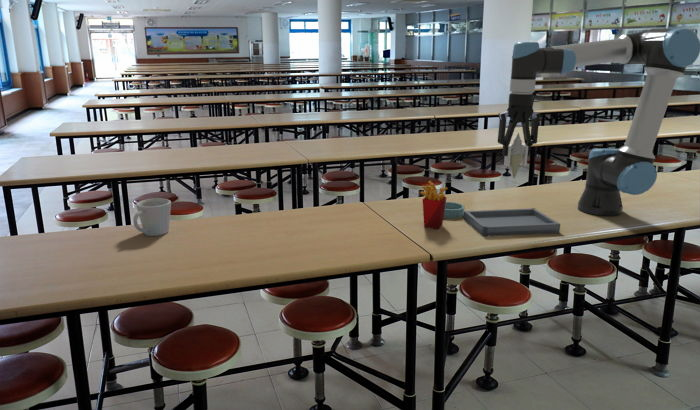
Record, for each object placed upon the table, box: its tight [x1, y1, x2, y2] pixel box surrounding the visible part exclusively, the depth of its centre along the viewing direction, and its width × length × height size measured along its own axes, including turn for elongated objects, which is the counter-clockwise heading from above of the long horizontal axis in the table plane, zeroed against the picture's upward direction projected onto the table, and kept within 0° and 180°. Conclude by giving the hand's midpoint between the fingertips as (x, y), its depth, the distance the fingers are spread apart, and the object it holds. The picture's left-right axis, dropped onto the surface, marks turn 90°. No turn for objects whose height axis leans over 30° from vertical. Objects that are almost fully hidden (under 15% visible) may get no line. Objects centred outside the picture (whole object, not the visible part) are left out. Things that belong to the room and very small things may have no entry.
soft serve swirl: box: [510, 132, 525, 179], centre depth 179 cm, size 5×5×15 cm
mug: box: [132, 197, 172, 237], centre depth 174 cm, size 10×15×10 cm
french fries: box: [419, 180, 448, 230], centre depth 183 cm, size 9×8×15 cm
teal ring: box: [443, 201, 466, 219], centre depth 198 cm, size 11×11×3 cm
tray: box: [463, 207, 561, 237], centre depth 186 cm, size 26×18×3 cm
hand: (515, 165), depth 180 cm, fingers closed on soft serve swirl, 5 cm apart
